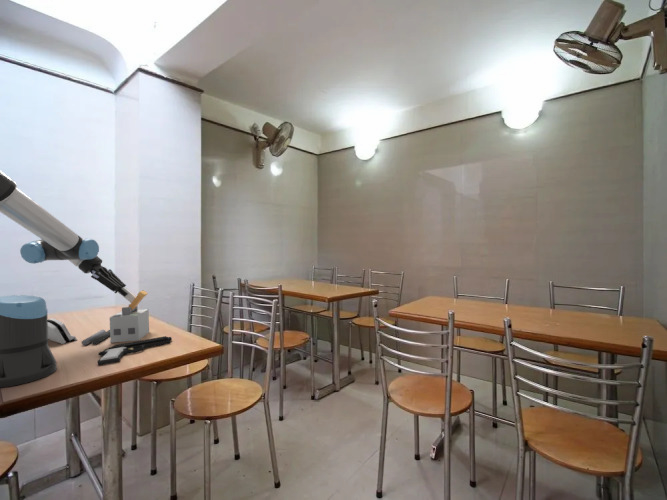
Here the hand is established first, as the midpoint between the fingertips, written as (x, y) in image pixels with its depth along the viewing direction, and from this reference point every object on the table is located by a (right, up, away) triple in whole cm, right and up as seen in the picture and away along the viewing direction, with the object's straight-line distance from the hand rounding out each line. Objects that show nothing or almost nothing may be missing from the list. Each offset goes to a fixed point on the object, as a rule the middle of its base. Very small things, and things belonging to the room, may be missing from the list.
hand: (134, 300), depth 129 cm
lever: (-2, -5, -1) cm, 5 cm away
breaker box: (-1, -15, 0) cm, 15 cm away
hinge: (-30, -16, -3) cm, 34 cm away
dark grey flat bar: (-12, -15, -3) cm, 20 cm away
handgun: (+13, -16, -18) cm, 27 cm away
